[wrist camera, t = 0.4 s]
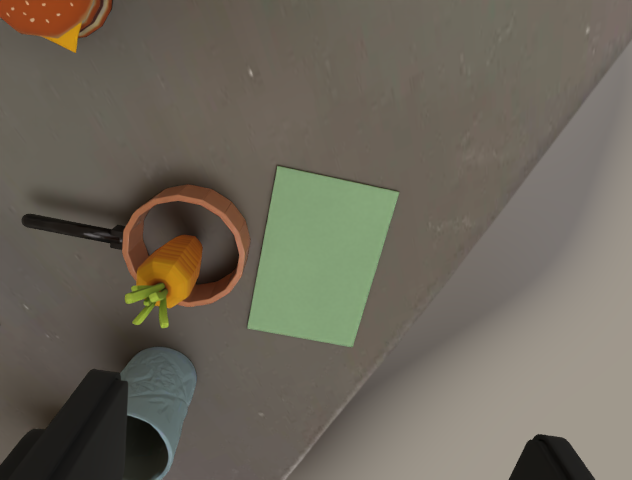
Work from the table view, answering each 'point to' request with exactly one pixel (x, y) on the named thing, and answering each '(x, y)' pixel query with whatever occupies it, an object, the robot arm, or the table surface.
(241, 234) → the pan
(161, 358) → the drinking glass
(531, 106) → the table surface
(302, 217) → the napkin
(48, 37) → the hamburger
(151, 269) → the carrot
